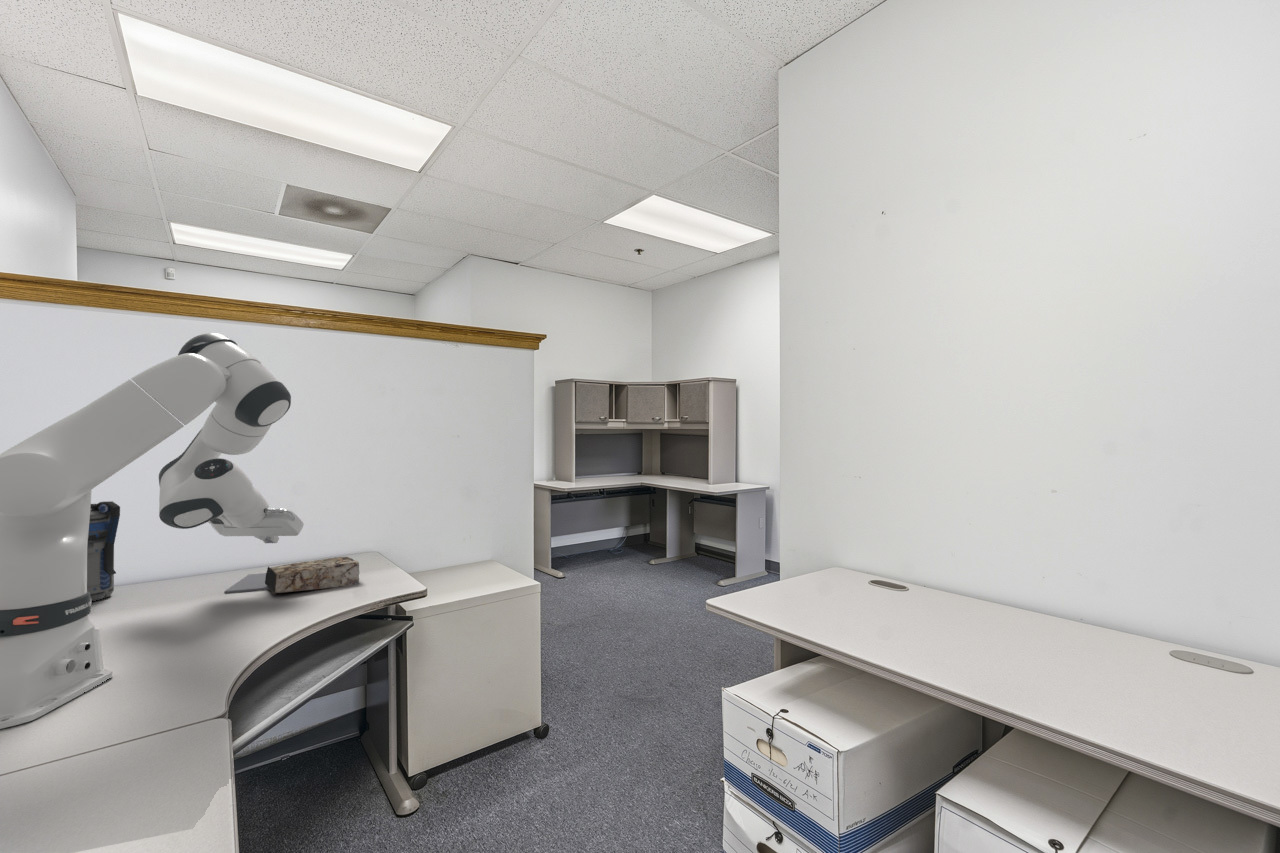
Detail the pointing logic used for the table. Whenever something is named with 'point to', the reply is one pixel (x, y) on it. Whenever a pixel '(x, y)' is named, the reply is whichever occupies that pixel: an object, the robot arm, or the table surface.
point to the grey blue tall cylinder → (101, 549)
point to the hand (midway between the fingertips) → (272, 541)
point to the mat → (249, 584)
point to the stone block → (313, 575)
